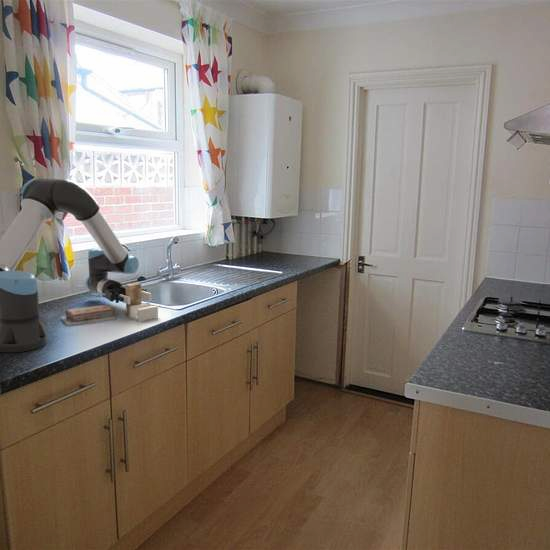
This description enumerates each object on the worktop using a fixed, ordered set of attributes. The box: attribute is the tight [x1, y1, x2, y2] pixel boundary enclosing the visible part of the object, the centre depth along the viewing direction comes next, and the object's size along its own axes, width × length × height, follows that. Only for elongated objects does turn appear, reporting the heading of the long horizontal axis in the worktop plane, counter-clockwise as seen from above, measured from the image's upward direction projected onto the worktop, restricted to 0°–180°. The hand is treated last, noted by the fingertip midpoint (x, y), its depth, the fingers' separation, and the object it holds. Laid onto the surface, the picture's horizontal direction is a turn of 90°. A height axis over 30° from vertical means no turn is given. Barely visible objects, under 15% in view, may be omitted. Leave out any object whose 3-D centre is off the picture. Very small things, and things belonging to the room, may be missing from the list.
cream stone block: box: [129, 302, 159, 322], centre depth 200 cm, size 8×7×4 cm
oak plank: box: [124, 282, 143, 317], centre depth 204 cm, size 5×3×12 cm, turn 136°
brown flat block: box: [61, 304, 118, 327], centre depth 197 cm, size 18×5×10 cm
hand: (140, 298), depth 201 cm, fingers open, 9 cm apart
